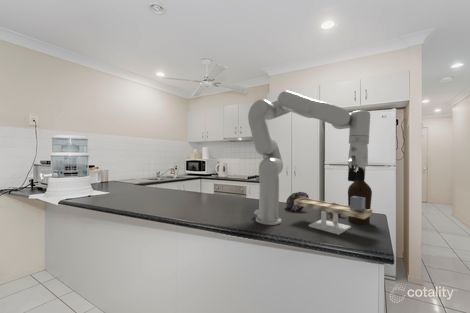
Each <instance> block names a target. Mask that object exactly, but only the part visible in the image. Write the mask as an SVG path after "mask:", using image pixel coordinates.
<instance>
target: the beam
mask: <svg viewBox="0 0 470 313" xmlns="http://www.w3.org/2000/svg"><path fill="white" fill-rule="evenodd" d="M294 205H298V206H303V208H309V209H314V210H318V211H326V212H327V213H329V212H332V213H337V214H341V215H340V216H347V217H348V216H351V217H356V218H361V219H366V218H367V217H369V216H370V217H371V216H373V209H372V208H370V209H365V212H363V213H359V212H354V211H350V206H348V204H341V203H336V202H331V201H330V202H329V201H323V200H319V199H311V198H304V197H303V198H299V199H295V200H294Z"/></svg>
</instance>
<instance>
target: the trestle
mask: <svg viewBox="0 0 470 313" xmlns="http://www.w3.org/2000/svg"><path fill="white" fill-rule="evenodd" d="M320 211H321V212H320V213H321V214H320V219H319V220H317V221H314V222H312V223H310V224H308V227H310V228H313V229H316V230H320V231H324V232H328V233H332V234H335V235H340V234H343V233H344V232H346V231H348V230H350V229H351V228H352V226H351V225H348V224H343V223H339V217H338V214H337V213H333V218H332V221H331V220H327V219H328V218H327V216H328V215H327V213H328V212H326V211H322V210H320Z"/></svg>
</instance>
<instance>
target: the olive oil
mask: <svg viewBox="0 0 470 313" xmlns="http://www.w3.org/2000/svg"><path fill="white" fill-rule="evenodd" d="M352 196H358V197H365V209H372V208H371V206H372V205H371V204H372V196H373V191H372V188H371V187H370V185H369V184H368V183H367V182H366V181H365V180H357V181H356V182H353V181H352V183H351V184H349V187H348V189H347V201H348V202H347V206H350V197H352ZM347 217H348V218H347V219H348V222H350V223H352V224H356V225H365V226H366V225H369V224H370V219H371V218H370V217H371V216H369V217H367V218H366V219H361V218H356V217H351V216H347Z"/></svg>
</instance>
